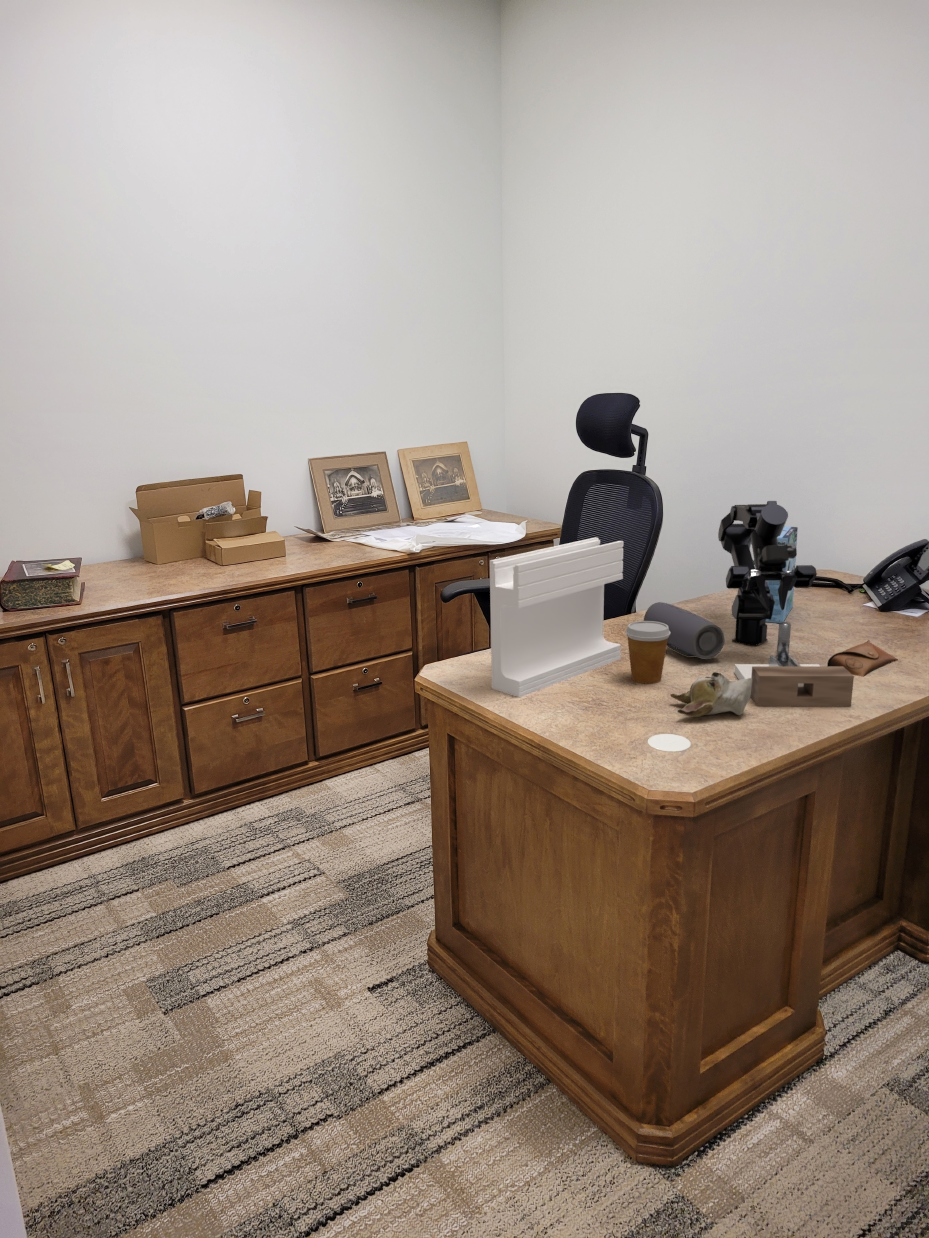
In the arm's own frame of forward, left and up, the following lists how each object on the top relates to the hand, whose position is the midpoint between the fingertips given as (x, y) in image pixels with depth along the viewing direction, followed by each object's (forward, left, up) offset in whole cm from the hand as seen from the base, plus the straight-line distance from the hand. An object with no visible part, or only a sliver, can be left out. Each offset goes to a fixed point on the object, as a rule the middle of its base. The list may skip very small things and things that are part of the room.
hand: (775, 609), depth 192 cm
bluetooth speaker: (-22, -1, -14) cm, 26 cm away
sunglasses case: (+14, +16, -14) cm, 25 cm away
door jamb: (+14, -16, -14) cm, 25 cm away
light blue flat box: (-19, +45, -14) cm, 51 cm away
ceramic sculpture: (+3, -33, -14) cm, 36 cm away
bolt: (+7, -8, -11) cm, 15 cm away
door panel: (+6, -7, -14) cm, 16 cm away
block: (-34, -33, -14) cm, 50 cm away
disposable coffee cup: (-17, -24, -14) cm, 33 cm away
